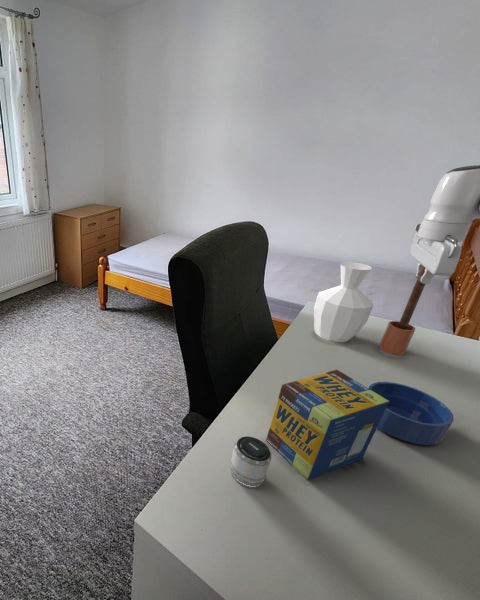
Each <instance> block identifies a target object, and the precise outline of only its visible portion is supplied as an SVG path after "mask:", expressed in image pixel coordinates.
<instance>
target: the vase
mask: <svg viewBox="0 0 480 600" xmlns="http://www.w3.org/2000/svg"><path fill="white" fill-rule="evenodd" d="M372 269H373V268H372V266H370V265H368V264H365V263H361V262H355V261H342V262H340V284H339V285H336V286H334V287H330V288H327V289H325V290H322V291H318V293H317V296H316V300H315V303H314V306H313V312H314V313H313V321H314V322H313V323H314V324H313V330H314V333H315V334H316V335H317V336H318V337H320V338H322V339H323V340H326V341H328V342H329V341H330V342H335V343H346V342H348V341H350V340H351V339H352V338H353V337H355V336H356V335H357V334H358V333H359V332H360V331H361V330H362V328H363V327H364V326H365V325H366V324H367V322H368V320H369V318H370V314H371V312H372V310H373V308H374V305H373V302H372V300H371V299H370V298H369V297H368V296H367V295H365V294H364V293H363V292H362V291H361V290H360V289H358V287H359V286H360V285H361V284H362V282H363V280H365V279H366V277H367V276H368V275H369V273H370V272H371V271H372Z"/></svg>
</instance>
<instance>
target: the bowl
mask: <svg viewBox="0 0 480 600" xmlns="http://www.w3.org/2000/svg"><path fill="white" fill-rule="evenodd" d="M367 388H368V389H370V390H372V391H373V392H375V393H377V394H378V395H380V396H382V397H383V398H385V399H387V400H388V401H390V402H389V404H388V406H387V408H386V410H385V412H384V414H383V416H382V418H381V420H380V423H379V425H378V427H377V429H379V430H380V431H381V432H383V433H386V434H388V435H389V436H392V437H394V438H396V439H398V440H401V441H404V442H408V443H411V444H415V445H421V446H434V445H437V444H440V443H441V442H442V441H443V439H444V438H445V436H446V434H447V433H448V431H449V429H450V428H451V425H453V422H454V420H455V419H454V414H453V412H452V411H451V409H450V408H449V407H448V406H447V405H446V404H445V403H443V402H442V401H441V400H439V399H438V398H436V397H435V396H432V395H431V394H429V393H427V392H426V391H422V390H420V389H418V388H415V387H412V386H409V385H406V384H402V383H397V382H391V381H377V382H373V383H371V384H370V385H368V386H367Z"/></svg>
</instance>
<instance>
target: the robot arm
mask: <svg viewBox="0 0 480 600" xmlns="http://www.w3.org/2000/svg"><path fill="white" fill-rule="evenodd" d="M476 219H477V220H480V164H479V165H466V166H460V167H455V168H453V169H450V170H449V171H447V172H445V173H444V174H443V176H442V177H441V178H440V180H439V182H438V183H437V186H436V187H435V190H434V192H433V194H432V197H431V199H430V202H429V209H428V212H427V213H426V214H425V215H424V217H423V220H422V222H418V223H417V224H416V225H415V228H414V232H415V234H414V236H413V239H412V242H411V246H410V250H409V255H410V256H411V257H412V258H414V259H415V260H416V261H417V262H418V263H417V269H416V274H415V278H416V279H417V278H418V276H419V274H420V271H421V269H422V266H424V267H425V273H424V274H423V276H421V278H420V282H421V283H424V284H425V285H429V284H431V281H432V279H433V278H434V277H435V276H440V277H451V276H452V275H453V274H454V273H455V271H456V268H457V266H458V263H459V261H460V259H461V254H462V247H461V246H460V245H458V243H461V242H464V241H465V239H466V237H467V234H468V233H469V230H470V228H471V225H472V223H473V221H474V220H476Z"/></svg>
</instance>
